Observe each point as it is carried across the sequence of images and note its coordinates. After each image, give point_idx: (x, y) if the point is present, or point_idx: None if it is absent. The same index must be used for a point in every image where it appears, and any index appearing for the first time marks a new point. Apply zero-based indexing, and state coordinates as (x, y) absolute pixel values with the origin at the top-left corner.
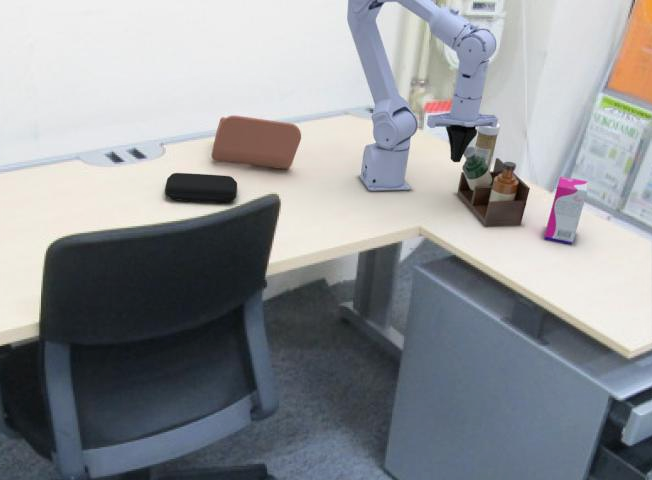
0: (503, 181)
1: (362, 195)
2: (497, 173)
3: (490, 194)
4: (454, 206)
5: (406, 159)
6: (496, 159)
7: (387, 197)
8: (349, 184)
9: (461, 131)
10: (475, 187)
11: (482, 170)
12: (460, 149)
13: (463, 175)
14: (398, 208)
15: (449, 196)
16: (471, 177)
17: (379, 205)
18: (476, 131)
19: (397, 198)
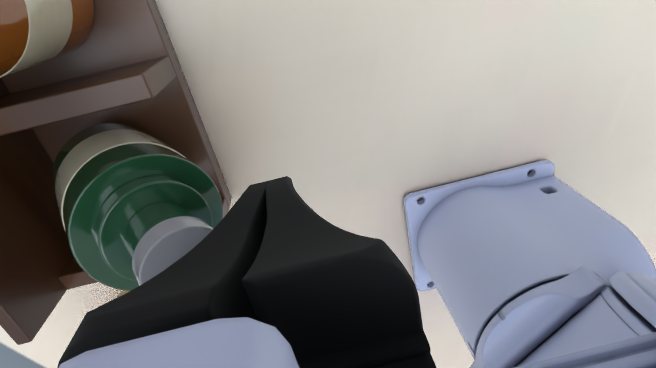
0: None
1: (582, 122)
2: (35, 259)
3: (49, 3)
4: (248, 87)
5: (471, 275)
6: (28, 332)
7: (498, 122)
8: (591, 199)
9: (292, 322)
10: (147, 82)
11: (94, 166)
12: (258, 226)
13: None
14: (485, 24)
15: (261, 176)
16: (170, 149)
17: (552, 41)
18: (64, 355)
19: (463, 120)
